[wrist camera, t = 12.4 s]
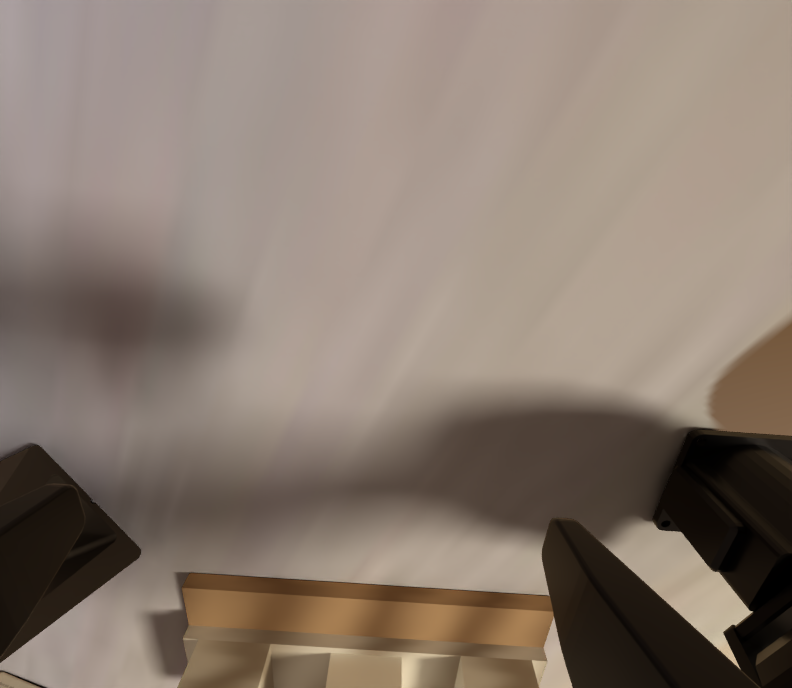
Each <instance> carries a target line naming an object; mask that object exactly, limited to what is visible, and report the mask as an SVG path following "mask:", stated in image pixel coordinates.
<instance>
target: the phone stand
mask: <svg viewBox="0 0 792 688" xmlns="http://www.w3.org/2000/svg"><path fill="white" fill-rule="evenodd" d="M53 483H54V484H69V485H73V486H74V487H75V488H76V489H77V491H78V494H79V497H80V501H81V504H82V507H83V511H84V514H85V524H84V527H83V530H82V532H81V534H80V535H79V537H78V539H77V540H76V542H75V544H74V545H73V547H72V549H71V550H70V552H69V554H68V555H67V557H66V558H65V560H64V562H63V563H62V565H61V567H60V568H59V570H58V572H57V573H56V575H55V577H54V578H53V580H52V582H51V583H50V585H49V587H48V588H47V590H46V591H45V593H44V595H43V596H42V598H41V600H40V601H39V603H38V604H37V606H36V608H35V609H34V611H33V612H32V614H31V615H30V617H29V618H28V620H27V621H26V623H25V624H24V626H23V627H22V629H21V630H20V631H19V633H18V634H17V636H16V637H15V638H14V640H13V641H12V643H11V644H10V645H9V647H8V648H7V649H6V651H5V652H4V654H3V655H2V656H1V658H0V663H1V662H2V661H3V660H5V659H6V658H7V657H9V656H10V655H11V654H12V653H14V652H15V651H16V650H18V649H19V648H20V647H22V646H23V645H24V644H26V643H27V642H28V641H30V640H31V639H32V638H34V637H35V636H36V635H38V634H39V633H40V632H42V631H43V630H44V629H45V628H47V627H48V626H49V625H51V624H52V623H53V622H55V621H56V620H57V619H59V618H60V617H61V616H63V615H64V614H65V613H67V612H68V611H69V610H71V609H72V608H73V607H74V606H76V605H77V604H78V603H80V602H81V601H82V600H84V599H85V598H86V597H88V596H89V595H90V594H92V593H93V592H94V591H96V590H97V589H98V588H100V587H101V586H102V585H104V584H105V583H106V582H107V581H109V580H110V579H111V578H113V577H114V576H115V575H117V574H118V573H119V572H121V571H122V570H123V569H125V568H126V567H127V566H129V565H130V564H131V563H133V562H134V561H135V560H137V559H138V558H139V557H140V555H141V549H140V548H139V547H138V546H137V545H136V544H135V543H134V542H133V541H132V540H131V539H130V538H129V537H128V536H127V535H126V534H125V532H124V531H123V530H122V529H121V528H120V527H119V526H118V525H117V524H116V523H115V522H114V521H113V520H112V519H111V518H110V517H109V516H108V515H107V514H106V513H105V512H104V511H103V510H102V509H101V508H100V507H99V506H98V505H97V504H96V503H94V504H92V503H91V502H90V500H91V498H90V497H89V496H88V495H87V494H86V493H85V492H84V491H83V490H82V489H81V488H80V486H79V485H78V484H77V483H76V482H75V481H74V480H73V479H72V478H71V477H70V476H69V475H68V474H67V473H66V472H65V471H64V470H63V469H62V468H61V467H60V466H59V465H58V464H57V463H56V462H55V461H54V460H53V459H52V458H51V457H50V456H49V455H48V454H47V453H46V452H45V451H44V450H43V449H42V448H41V447H40V446H36V445H35V446H32V447H30V448H28V449H25V450H23V451H21V452H19V453H17V454H15V455H13V456H11V457H9V458H6V459H4V460H2V461H0V506H1V505H3V504H5V503H7V502H10V501H12V500H14V499H16V498H18V497H20V496H23V495H25V494H27V493H29V492H31V491H33V490H36V489H38V488H40V487H42V486H44V485H47V484H53Z"/></svg>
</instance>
